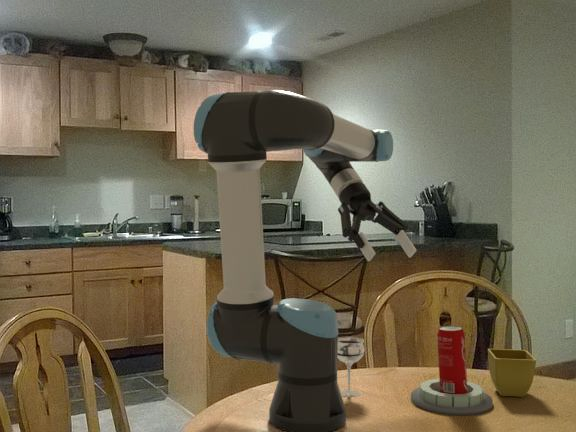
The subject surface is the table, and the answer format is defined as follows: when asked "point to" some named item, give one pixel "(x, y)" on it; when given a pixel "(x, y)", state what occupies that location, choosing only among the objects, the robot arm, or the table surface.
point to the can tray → (451, 409)
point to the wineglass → (350, 357)
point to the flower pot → (511, 371)
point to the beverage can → (452, 360)
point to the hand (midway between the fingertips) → (392, 255)
